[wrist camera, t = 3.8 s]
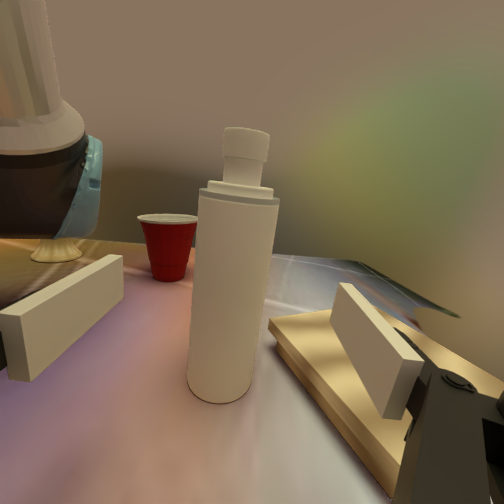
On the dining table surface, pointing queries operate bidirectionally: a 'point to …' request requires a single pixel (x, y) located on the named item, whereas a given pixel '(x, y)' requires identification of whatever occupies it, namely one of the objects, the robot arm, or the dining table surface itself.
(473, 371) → the stand
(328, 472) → the dining table surface
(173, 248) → the plastic cup
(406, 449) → the robot arm
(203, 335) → the spray bottle
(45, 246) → the hand bell
